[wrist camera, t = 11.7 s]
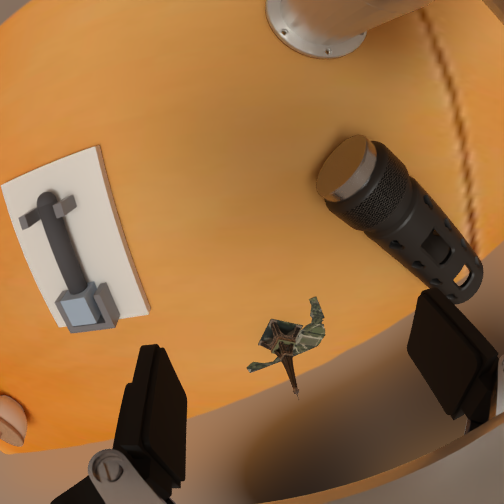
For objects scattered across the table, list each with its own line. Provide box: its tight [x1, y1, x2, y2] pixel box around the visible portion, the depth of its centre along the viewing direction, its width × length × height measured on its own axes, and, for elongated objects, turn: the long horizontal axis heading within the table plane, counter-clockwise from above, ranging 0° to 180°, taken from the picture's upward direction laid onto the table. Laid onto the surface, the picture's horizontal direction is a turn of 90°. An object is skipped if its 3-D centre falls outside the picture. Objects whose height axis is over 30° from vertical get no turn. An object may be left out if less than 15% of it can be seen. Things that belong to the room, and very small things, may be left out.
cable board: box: [1, 145, 151, 333], centre depth 33 cm, size 23×16×5 cm
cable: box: [37, 192, 101, 326], centre depth 33 cm, size 17×4×4 cm, turn 9°
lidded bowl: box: [0, 395, 27, 446], centre depth 44 cm, size 13×13×11 cm
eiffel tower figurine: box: [247, 297, 325, 396], centre depth 40 cm, size 15×10×13 cm
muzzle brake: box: [316, 135, 483, 304], centre depth 35 cm, size 10×28×10 cm, turn 56°
